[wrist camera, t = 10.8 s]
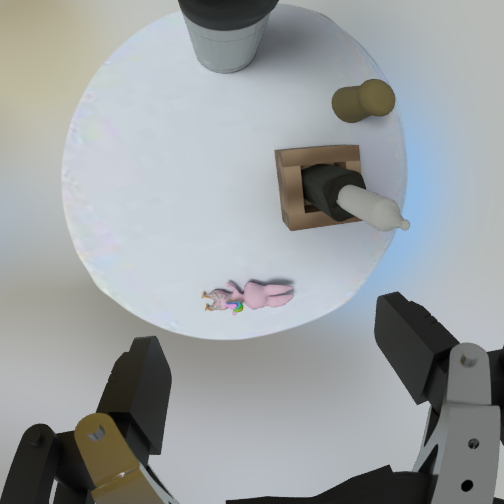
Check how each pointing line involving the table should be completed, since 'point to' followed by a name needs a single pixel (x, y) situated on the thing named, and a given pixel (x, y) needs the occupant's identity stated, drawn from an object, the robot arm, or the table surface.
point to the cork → (363, 101)
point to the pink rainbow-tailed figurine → (249, 297)
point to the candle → (349, 197)
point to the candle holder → (290, 182)
